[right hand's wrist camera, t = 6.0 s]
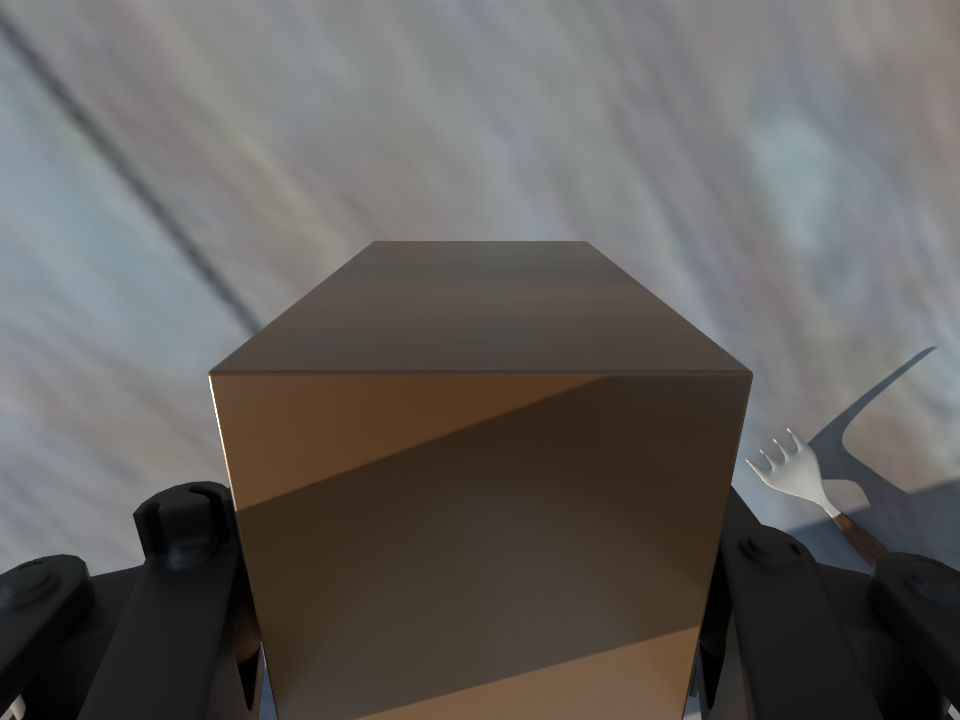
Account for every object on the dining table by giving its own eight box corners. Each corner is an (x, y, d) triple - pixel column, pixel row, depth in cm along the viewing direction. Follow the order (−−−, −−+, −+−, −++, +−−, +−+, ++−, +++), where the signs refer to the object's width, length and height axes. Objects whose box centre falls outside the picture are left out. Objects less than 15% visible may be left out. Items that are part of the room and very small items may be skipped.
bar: (373, 241, 13) (204, 372, 5) (587, 240, 13) (755, 372, 5) (413, 797, 22) (372, 1189, 13) (546, 797, 22) (587, 1189, 13)
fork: (903, 617, 28) (933, 649, 27) (723, 441, 25) (743, 464, 23) (947, 590, 28) (980, 621, 26) (769, 404, 24) (794, 425, 22)
